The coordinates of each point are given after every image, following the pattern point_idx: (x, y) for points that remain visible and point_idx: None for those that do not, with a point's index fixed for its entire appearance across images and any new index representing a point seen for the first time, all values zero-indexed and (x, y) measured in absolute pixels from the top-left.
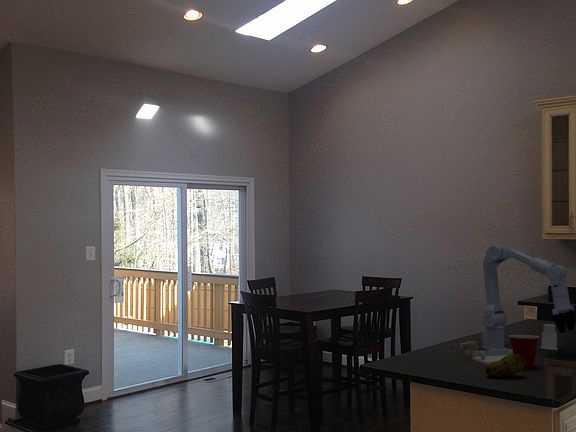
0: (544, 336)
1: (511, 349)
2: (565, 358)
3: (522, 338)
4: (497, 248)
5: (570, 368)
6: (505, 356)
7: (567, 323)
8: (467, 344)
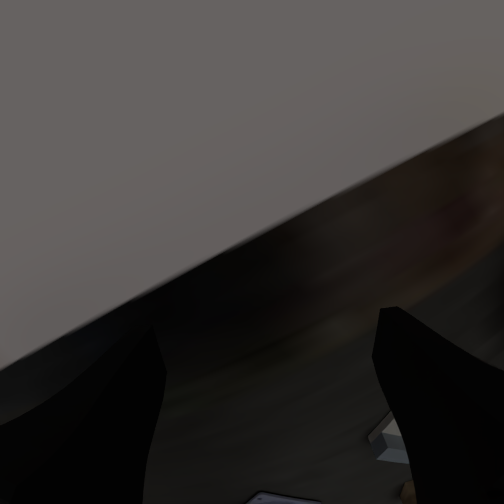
0: None
1: (397, 452)
2: (251, 273)
3: None
4: None
5: (472, 132)
6: None
7: (143, 433)
8: None
